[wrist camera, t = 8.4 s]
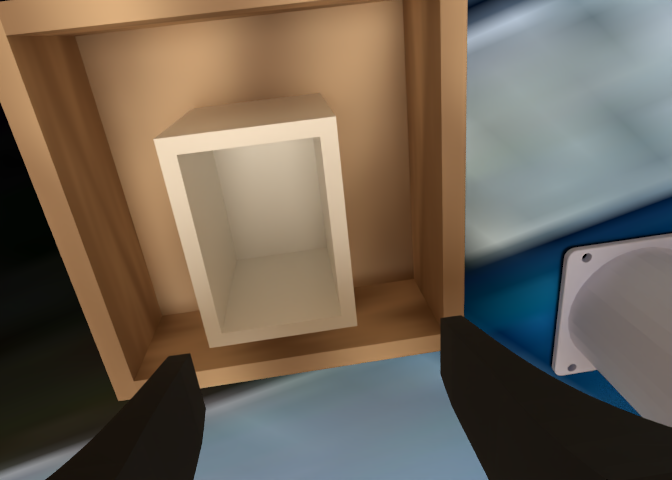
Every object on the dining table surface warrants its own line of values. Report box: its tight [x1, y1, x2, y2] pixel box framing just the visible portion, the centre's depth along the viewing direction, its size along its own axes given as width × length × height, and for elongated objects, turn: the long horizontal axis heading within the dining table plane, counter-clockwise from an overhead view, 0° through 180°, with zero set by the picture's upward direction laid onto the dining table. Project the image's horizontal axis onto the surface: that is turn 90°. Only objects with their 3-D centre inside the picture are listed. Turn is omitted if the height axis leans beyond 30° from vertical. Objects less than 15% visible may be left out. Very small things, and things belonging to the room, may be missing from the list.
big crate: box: [0, 0, 467, 401], centre depth 18 cm, size 14×14×6 cm
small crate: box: [153, 93, 357, 348], centre depth 17 cm, size 5×7×6 cm
